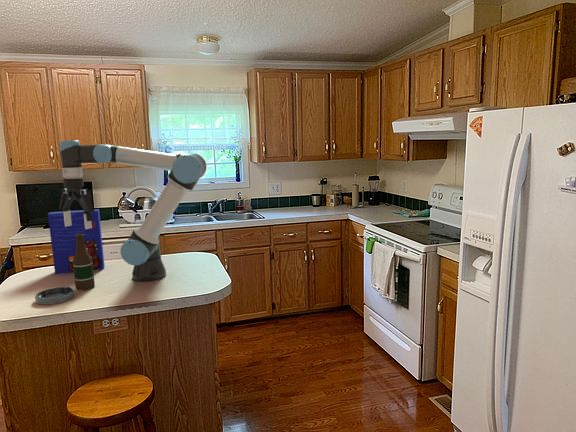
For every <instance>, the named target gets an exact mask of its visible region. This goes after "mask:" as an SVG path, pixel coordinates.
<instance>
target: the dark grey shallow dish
mask: <svg viewBox="0 0 576 432" xmlns="http://www.w3.org/2000/svg"><path fill="white" fill-rule="evenodd" d="M73 297H74V288H72V287H71V286H70V287H69V286H59V287H50V288H47V289H43V290H41V291H38V292H37V293H36V294H35V295H34V300H35V302H36V304H37V305H40V306H53V305H58V304H62V303H65V302H68V301H70V300H71V299H73Z"/></svg>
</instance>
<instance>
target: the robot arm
mask: <svg viewBox="0 0 576 432" xmlns="http://www.w3.org/2000/svg"><path fill="white" fill-rule="evenodd" d="M59 153H60V163H61V168H62V169H61V172H62V177H63V180H62V181H63V182H62V183H63V187H64V188H61V197H60V202H59V205H58V209H59V210H61V212H63V215H64V222H65V227H67V226H72V222H71V213H70V211H71V209H70V207H71V206H72V203H73V202H74V201H76V202H78V204H79V205H80V207H81V209H82V210H84V222H85V229H90V228H92V222H91V220H92V218H91V213H92V212H94V211H95V210H94V209H95V208H94V205H93V202H92V200H91V199H90V198H91V197H90V195H89V192H88V191H89V190H88V189H87V188H85V189H82V188H83V187H84V186H85V184H84V178H83V176H84V172H83V164H105V163H106V164H107V163H113V164H120V165H121V164H122V165H129V166H135V167H143V168H149V169H155V170H156V169H157V170H162V171H168V172H169V173H168V175H167V179H168V182H167V183H166V185H165V186H164V188H163V190H162V191H161V193H160V194H159V196H158V197H157V200H156V201H155V203H154V204H153V205H152V207H151V209H150V211H149V212H148V214H147V215H146V217H145V218H144V220H143V222H142V223H141V225H140V226H137V227H135V228H134V229H133V230H132V232H131V234H130V235H129V237H128V238H127V240H125V241H124V242H123V243H122V245H121V247H120V256H121V258H122V260H123V261H124V262H125V263H127V264H128V265H131V266H133V269H132V273H131V275H132V276H131V277H132V279H133V280H134V281H137V282H147V281H155V280H156V281H157V280H159V279H162V278H164V277H165V276H166V275H167V271H166V270H167V269H166V268H165V267H166V266H165V265H164V261H163V260H162V253H161V240H160V238H161V237H160V235H161V233H162V231H163V230H164V228H165V227H166V226H167V224H168V222H169V220H170V219H171V217H172V216H173V215H174V213H175V211H176V209H177V207H178V206H179V204H180V203H181V201H182V200H183V198H184V197H185V195H186V193H187V192H191V191H193V189H194V188H195V186H196V184H197V183H198V181H199V180H200V178H202V177H203V176H204V175H205V174H206V171H207V163H206V160H205V159H204V157H203V156H202V155H200V154H198V153H193V152H192V153H191V152H190V153H182V152H177V153H176V154H173V153H167V152H159V151H153V150H145V149H139V148H133V147H132V148H131V147H127V146H118V145H113V144H109V143H108V144H107V143H106V144H103V143H102V144H101V143H100V144H81V142H80V141H79V140H78V139H76V140H74V139H70V140H69V139H68V140H61V141H60V142H59Z"/></svg>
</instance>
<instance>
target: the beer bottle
mask: <svg viewBox="0 0 576 432" xmlns="http://www.w3.org/2000/svg"><path fill="white" fill-rule="evenodd" d="M75 237H76V254H75V256H74V258H73V270H74V273H73V275H74V276H73V277H74V285H75V286H74V287H75V289H76V290H77V291H86V290H87V291H88V290H91V289H93V288H94V287H95V274H94V270H93V263H92V258H91V256H90V255H89V254H88V253H87V250H86V246H85V241H84V234H76V235H75Z"/></svg>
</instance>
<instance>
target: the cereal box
mask: <svg viewBox="0 0 576 432" xmlns="http://www.w3.org/2000/svg"><path fill="white" fill-rule="evenodd" d="M94 210H95V211H94V212H92V213H91V218H92V220H91V222H92V228H90V229H85V222H84V210H83V209H82V210H69V211H70V213H71V222H72V226H67V227H65V222H64V215H63V211H53V212H52V211H51V212H48V213H47V219H48V225H49V226H48V227H49V228H48V229H49V235H50V241H51V242H50V243H51V250H52V260H53V268H54V275H61V274H62V275H63V274H71V273H73V274H74V270H73V258H74V256H75V254H76V237H75V235H76V234H84V241H85V246H86V250H87V253H88V254H89V255H90V256H91V258H92V263H93V271H99V270H105V260H104V259H105V257H104V247H103V238H102V229H101V228H102V226H101V217H100V209H99V208H97V209H96V208H94Z"/></svg>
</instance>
